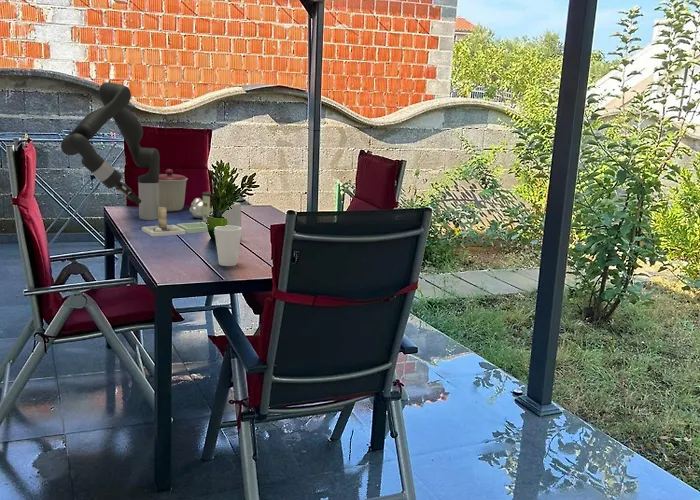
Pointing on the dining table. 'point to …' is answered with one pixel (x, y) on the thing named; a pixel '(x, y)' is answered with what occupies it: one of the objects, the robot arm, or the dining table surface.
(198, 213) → the silver lobed ball
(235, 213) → the skincare box
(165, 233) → the cream square tray
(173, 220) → the dining table surface
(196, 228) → the tray
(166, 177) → the canister
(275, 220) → the dining table surface
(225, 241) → the foam cup
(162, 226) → the ball
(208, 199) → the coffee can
